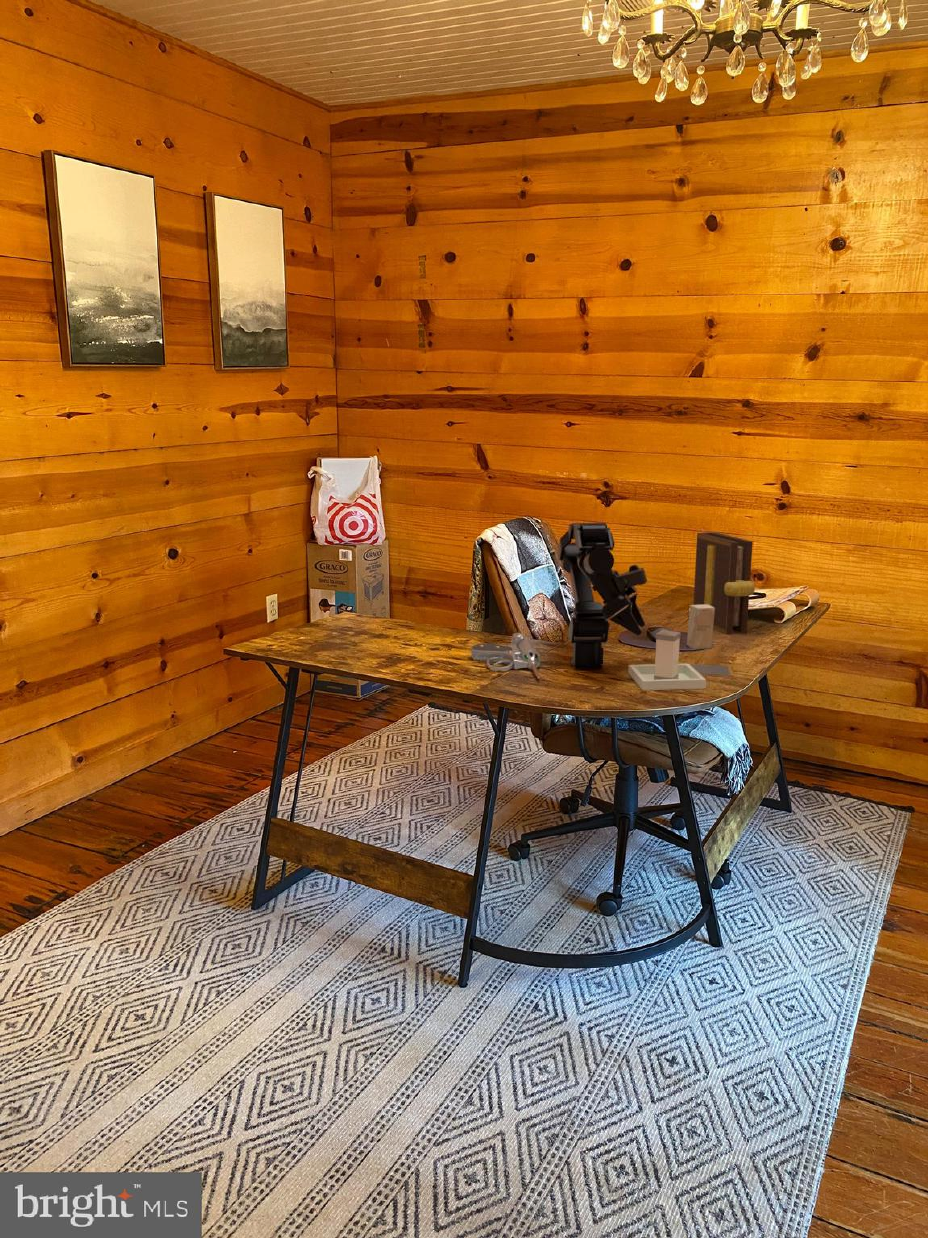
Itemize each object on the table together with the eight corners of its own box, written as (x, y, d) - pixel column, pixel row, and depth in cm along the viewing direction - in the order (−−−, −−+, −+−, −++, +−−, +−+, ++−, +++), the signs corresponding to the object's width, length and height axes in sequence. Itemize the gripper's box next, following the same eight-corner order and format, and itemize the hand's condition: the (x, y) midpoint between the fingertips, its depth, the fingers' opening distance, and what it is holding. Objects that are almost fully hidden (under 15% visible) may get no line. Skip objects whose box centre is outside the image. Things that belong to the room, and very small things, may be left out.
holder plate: (685, 675, 222) (685, 673, 221) (684, 666, 229) (684, 663, 229) (730, 677, 220) (730, 675, 220) (727, 668, 227) (727, 666, 227)
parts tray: (642, 692, 209) (643, 681, 208) (628, 675, 222) (628, 664, 221) (705, 690, 210) (706, 679, 209) (687, 673, 223) (688, 663, 222)
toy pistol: (469, 655, 243) (531, 647, 244) (482, 697, 217) (551, 689, 218) (467, 633, 242) (529, 626, 243) (479, 673, 215) (550, 665, 216)
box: (693, 651, 243) (695, 608, 240) (686, 646, 247) (688, 604, 244) (712, 649, 244) (715, 607, 241) (705, 645, 248) (707, 603, 245)
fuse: (653, 681, 215) (655, 633, 212) (660, 677, 218) (662, 630, 216) (672, 684, 213) (674, 636, 210) (678, 679, 216) (680, 632, 214)
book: (686, 619, 277) (690, 533, 271) (712, 617, 279) (717, 531, 273) (729, 637, 256) (734, 544, 250) (756, 635, 259) (763, 542, 253)
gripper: (625, 559, 207) (668, 617, 207) (633, 549, 225) (673, 602, 225) (583, 589, 211) (626, 646, 211) (595, 576, 229) (634, 629, 229)
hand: (641, 630), depth 219 cm, fingers open, 9 cm apart
